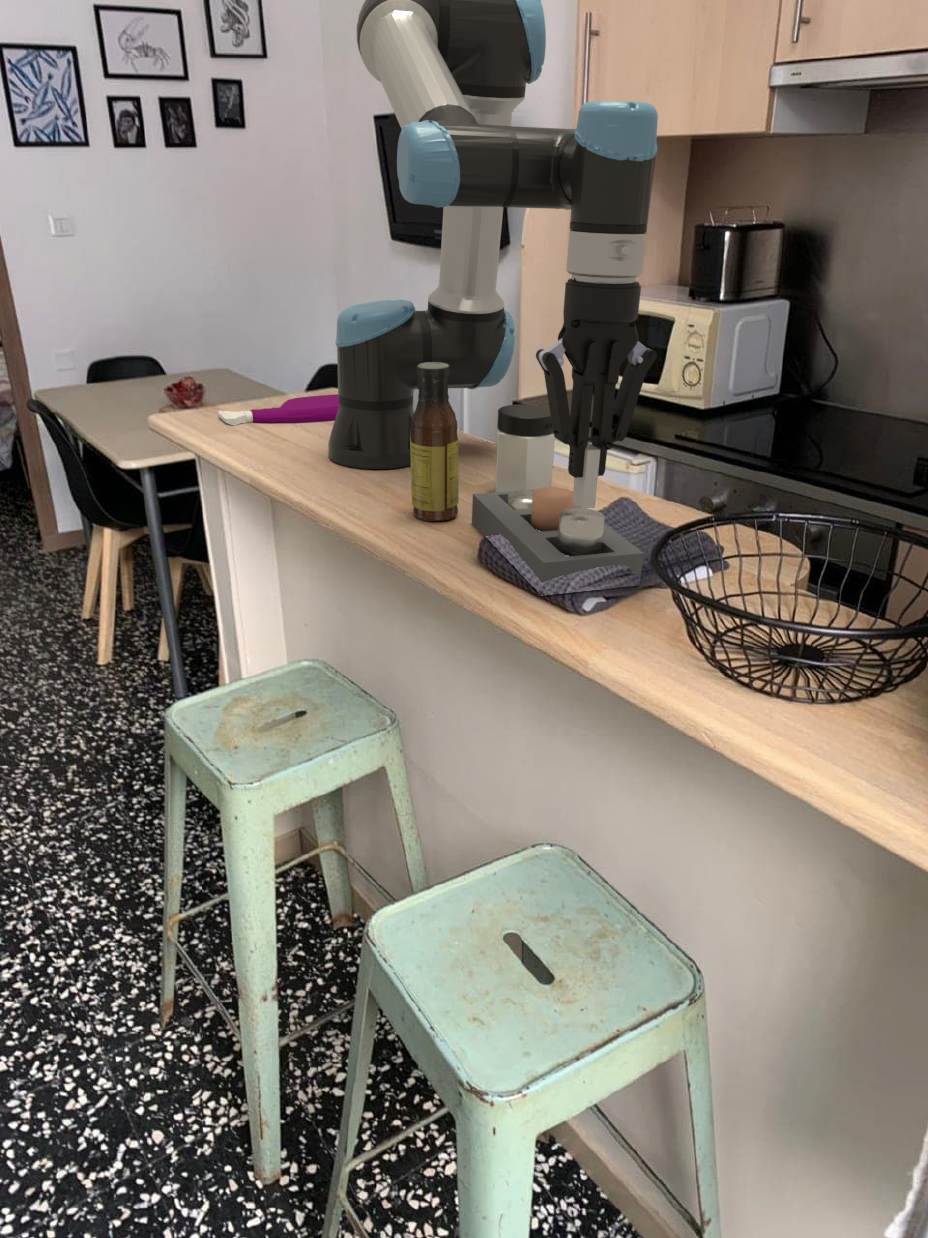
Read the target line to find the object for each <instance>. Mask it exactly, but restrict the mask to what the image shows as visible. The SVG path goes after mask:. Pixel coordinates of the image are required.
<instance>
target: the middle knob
mask: <svg viewBox="0 0 928 1238" xmlns="http://www.w3.org/2000/svg"><path fill="white" fill-rule="evenodd" d="M572 499H573V490H570V489H568V488H565V487H561V486H560V487H559V486H551V487H542V488H537V489H535V490H534V491H533V497H532V512H531V526H532V527H533V528H535V529H537V530H540V531H553V530H558V528H559V516H560V512H561V511H563V510H566V509H571V508H574V502H573V501H572Z"/></svg>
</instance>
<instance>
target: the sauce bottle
mask: <svg viewBox="0 0 928 1238" xmlns="http://www.w3.org/2000/svg"><path fill="white" fill-rule="evenodd" d="M449 375H450V371H449V365H448V364H446V363H441V362H425V363H421V364H419V365H418V366H417V377H418V379H419V389H418V394H417V395H418V396H417V400H418V401H417V403H416V407H415V409H414V415H413V417H412V423H411V429H410V451H411V465H410V478H411V479H410V480H411V482H410V483H411V485H410V486H411V487H410V488H411V504H412V506H413V507H412V510H413V511H412V512H413V515H414V516H415V517H417V518H418V519H420V520H423V521H426V522H445V521H450V520H452V519H454V518H456V516H457V515H458V509H459V508H458V504H459V437H458V421H457V418H456V416H457V415H456V412H455V411H454V409H453V407H452V405H451V402H450V401H449V399H450V396H449V388H448V377H449Z"/></svg>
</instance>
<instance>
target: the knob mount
mask: <svg viewBox="0 0 928 1238" xmlns="http://www.w3.org/2000/svg"><path fill="white" fill-rule="evenodd" d="M534 490H535V489H534ZM534 490H520V491H534ZM512 492H516V491H506V492H495V491H494V492H482V493H479V492H478V493H472V501H471V502H472V503H471V505H472V506H471V524H472V525H473V527H475V529H477V531H479V533H480V534H481V535H482V536H483V537H484V538H485V537H486V536H491V535H499V534H501V535H502V536H503V537H505V538H506V539H507V540H508V541H509V542H510V544H511V545H512V546H513V548H514V549H515V550H516V552H517V553H518V554H519V556H520V557H521V558H522V560H523V561H525V563H527V565H528V566H529V567H530V568H531V569H532V570H533V572H534V573H535V575H536V576H537V577H538V578H539V579H540V581H541V582H542V583H543V582H545V581H548V580H550V579H552V578H556V577H559V576H562V575H563V576H564V575H569V574H572V573H575V572H577V571H583V570H588V569H591V568H592V569H593V568H596V567H602V566H609V565H612V566H613V565H625V566H629V567H630V568H631V569H630V570H632V571H630V572H632V573H630V574H635V575H636V576H639V577H641V578H642V572H643V571H642V570H643V563H644V552H643V551H642V550H641V549H639V548H638V547H636V546H635V545H634V544H633V543H631V542H630V541H629V540H627V538H625V537H624V536H622V535H620V533H618V532H617V531H616V530H614V529H613V528H612V527H610V526H609V525H608V524H606V523H605V522H604V529H603V539H602V549H601V553H600V554H591V555H581V556H570V557H565V556H564V555H563V554H562V553H561V552H560V551H559V550H558V549H557V541H558V530H553V531H542V532H538V531H537V530H536V529H535V528H533V527H532V526H531V512H532V508H529V509H516V510H513V509H512V508H511V507H510V506H509V505H508V495H509V494H510V493H512ZM574 508H581V507H579V506H578V505H577V504H576V503H574Z"/></svg>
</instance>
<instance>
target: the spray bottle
mask: <svg viewBox="0 0 928 1238" xmlns="http://www.w3.org/2000/svg"><path fill="white" fill-rule="evenodd" d="M337 411H338V393H337V394H324V395H322V394H321V395H309V396H301V397H294V398H290V399H287V400H285V401H284V402H283V403H282V404H281V406H279V407H271V408H269V407H268V408H260V409H259V408H258V409H257V408H256V409H255V408H254V409H250V410H241V411H231V410H218V411H217V415H218V417H219V419H221V420H222V421H223V422H224V423H226V424H228V425H231V426H234V427H235V426H237V425H240V424H247V423H248V424H249V423H264V424H265V423H266V424H267V423H269V424H282V423H283V424H297V423H298V424H299V423H300V424H301V423H302V424H303V423H304V424H305V423H319V422H321V423H322V422H329V421H330V422H331V421H335V418H336V415H337Z"/></svg>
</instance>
